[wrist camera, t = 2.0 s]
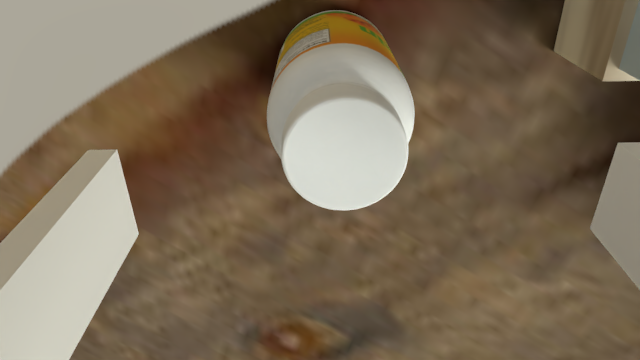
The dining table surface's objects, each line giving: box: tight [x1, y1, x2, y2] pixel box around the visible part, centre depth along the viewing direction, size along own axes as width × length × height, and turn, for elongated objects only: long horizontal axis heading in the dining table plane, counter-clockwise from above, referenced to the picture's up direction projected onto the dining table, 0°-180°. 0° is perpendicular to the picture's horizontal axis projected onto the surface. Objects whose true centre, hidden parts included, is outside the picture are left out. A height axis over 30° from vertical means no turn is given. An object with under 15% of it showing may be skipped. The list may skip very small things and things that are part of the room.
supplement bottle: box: [267, 10, 415, 210], centre depth 19 cm, size 5×5×10 cm
